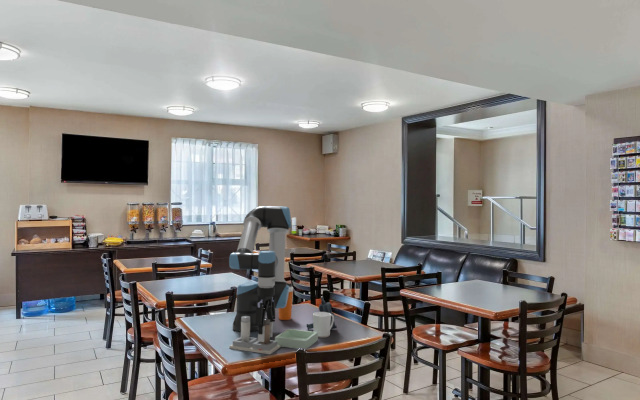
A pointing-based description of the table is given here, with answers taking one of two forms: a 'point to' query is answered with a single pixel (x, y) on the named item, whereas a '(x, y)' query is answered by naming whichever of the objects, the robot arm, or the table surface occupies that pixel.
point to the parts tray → (296, 338)
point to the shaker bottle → (287, 306)
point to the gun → (324, 308)
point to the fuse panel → (255, 346)
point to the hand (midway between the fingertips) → (265, 338)
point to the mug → (322, 323)
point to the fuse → (245, 328)
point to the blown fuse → (266, 332)
